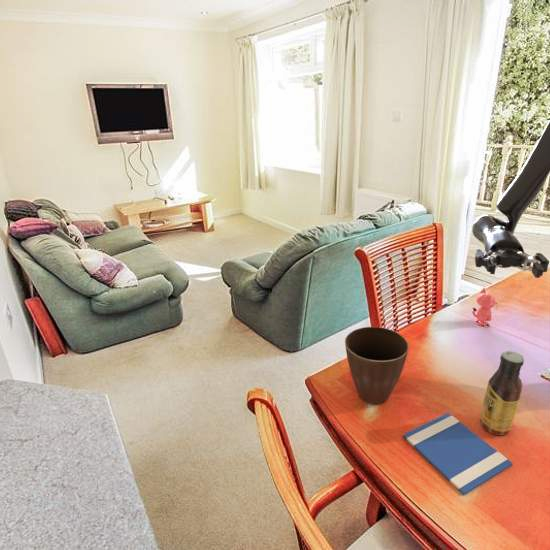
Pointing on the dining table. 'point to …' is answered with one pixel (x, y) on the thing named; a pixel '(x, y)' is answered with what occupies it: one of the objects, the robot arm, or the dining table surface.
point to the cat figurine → (484, 307)
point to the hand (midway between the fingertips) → (515, 272)
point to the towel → (457, 452)
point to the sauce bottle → (503, 395)
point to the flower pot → (375, 361)
